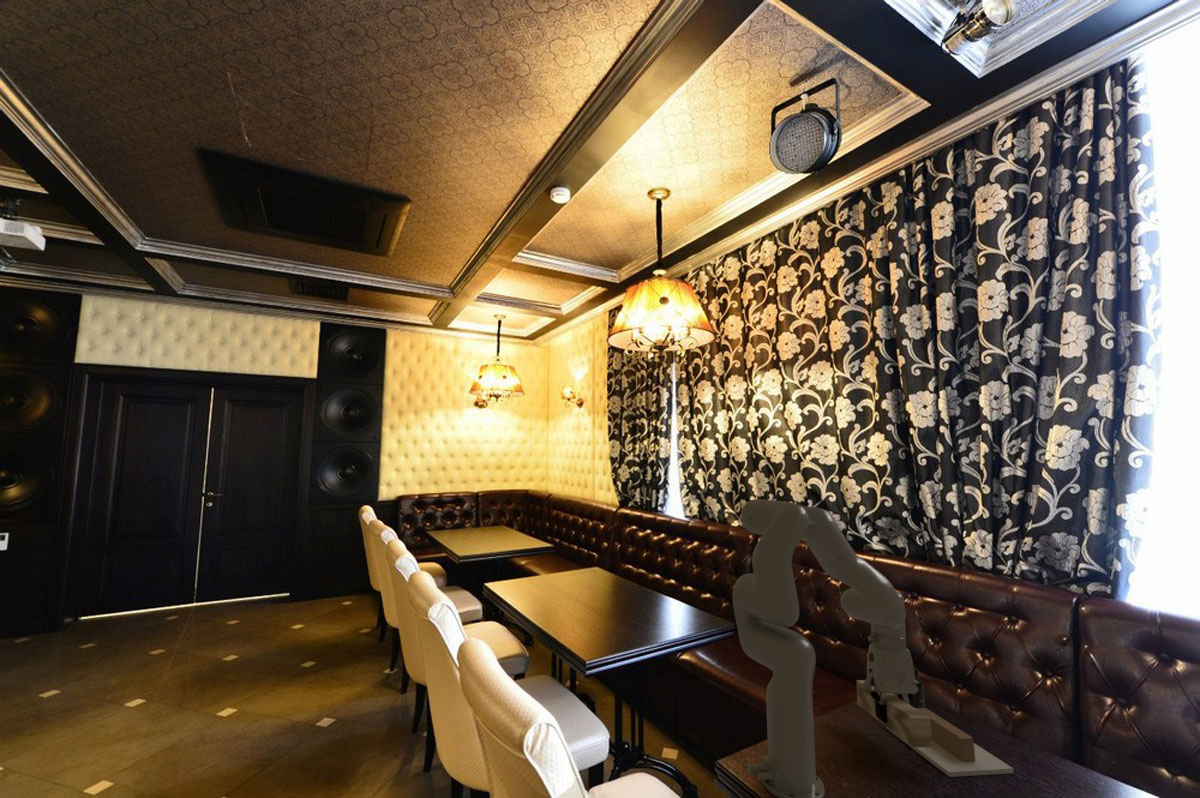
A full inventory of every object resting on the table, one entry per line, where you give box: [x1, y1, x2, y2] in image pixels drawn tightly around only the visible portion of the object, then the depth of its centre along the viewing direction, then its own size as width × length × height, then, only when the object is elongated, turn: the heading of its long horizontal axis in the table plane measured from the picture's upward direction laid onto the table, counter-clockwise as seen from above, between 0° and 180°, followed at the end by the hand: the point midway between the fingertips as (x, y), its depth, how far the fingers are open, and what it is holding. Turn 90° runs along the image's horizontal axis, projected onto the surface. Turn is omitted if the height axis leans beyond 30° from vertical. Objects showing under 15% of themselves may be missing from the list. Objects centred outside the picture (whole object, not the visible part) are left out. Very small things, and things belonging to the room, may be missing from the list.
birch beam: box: [856, 679, 932, 747], centre depth 116 cm, size 20×4×6 cm, turn 5°
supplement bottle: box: [909, 666, 926, 708], centre depth 134 cm, size 7×7×12 cm
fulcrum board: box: [885, 707, 1015, 778], centre depth 116 cm, size 16×20×6 cm
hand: (891, 719), depth 116 cm, fingers closed on birch beam, 4 cm apart
